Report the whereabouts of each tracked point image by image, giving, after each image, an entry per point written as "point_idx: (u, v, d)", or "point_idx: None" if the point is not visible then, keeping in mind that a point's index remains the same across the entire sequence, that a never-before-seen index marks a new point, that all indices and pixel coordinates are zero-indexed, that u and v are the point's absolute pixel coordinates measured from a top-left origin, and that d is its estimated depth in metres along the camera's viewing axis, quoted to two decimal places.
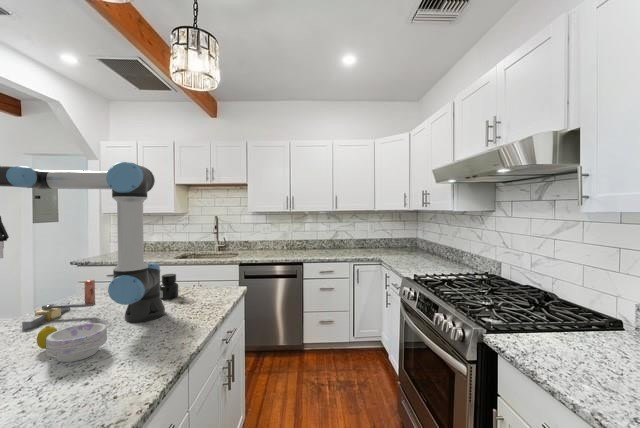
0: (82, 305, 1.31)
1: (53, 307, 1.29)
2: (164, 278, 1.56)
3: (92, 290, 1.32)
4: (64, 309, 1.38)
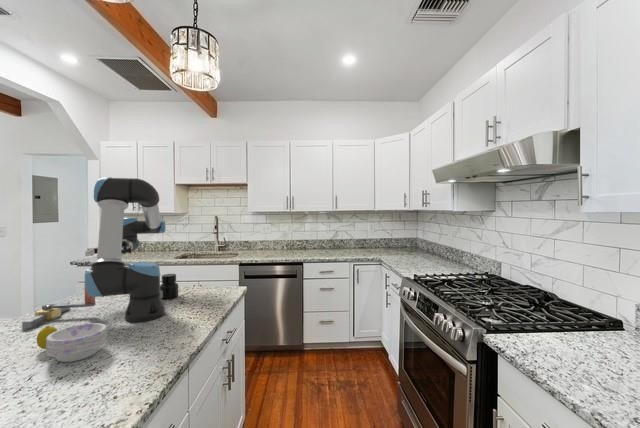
0: (82, 305, 1.31)
1: (53, 307, 1.29)
2: (164, 278, 1.56)
3: None
4: (64, 309, 1.38)
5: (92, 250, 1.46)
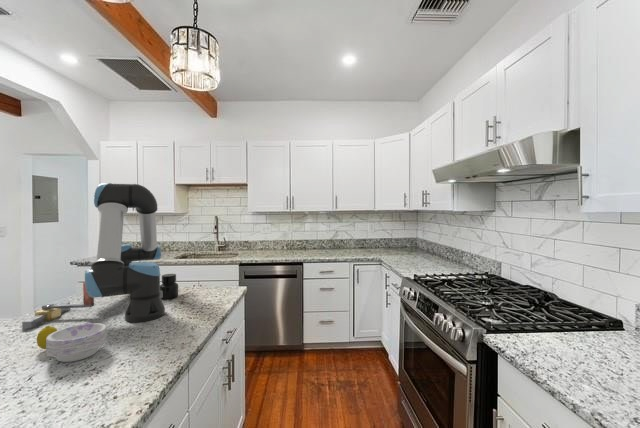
0: (81, 306, 1.30)
1: (53, 307, 1.29)
2: (164, 278, 1.56)
3: None
4: (64, 309, 1.38)
5: None
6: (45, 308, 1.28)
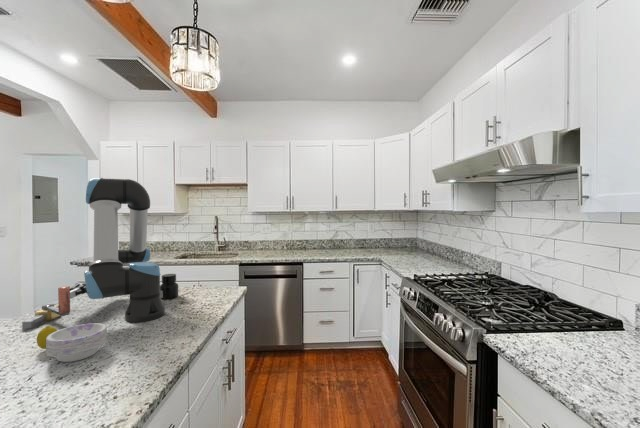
0: (58, 312, 1.22)
1: (47, 308, 1.27)
2: (164, 278, 1.56)
3: (63, 298, 1.20)
4: None
5: None
6: (42, 308, 1.28)
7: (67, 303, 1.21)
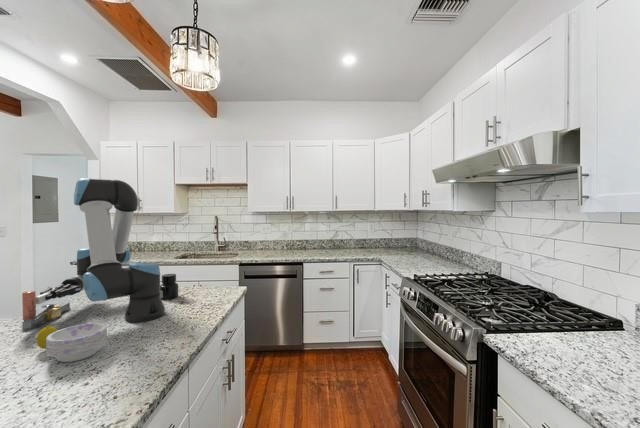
0: None
1: None
2: (164, 278, 1.56)
3: (23, 304, 1.13)
4: (64, 309, 1.38)
5: None
6: None
7: (28, 309, 1.13)
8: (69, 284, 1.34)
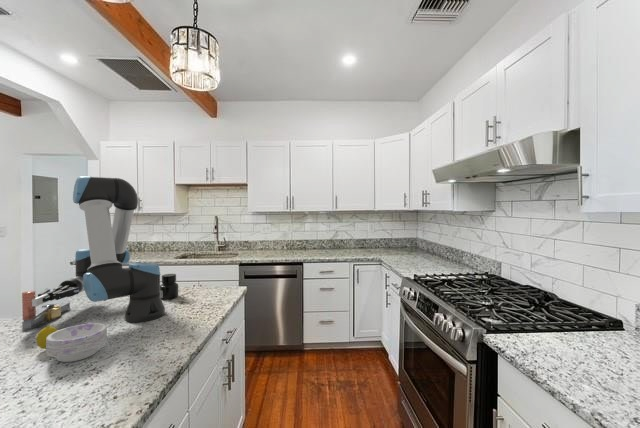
0: None
1: None
2: (164, 278, 1.56)
3: (23, 304, 1.13)
4: (64, 309, 1.38)
5: None
6: None
7: (28, 310, 1.13)
8: (67, 286, 1.31)
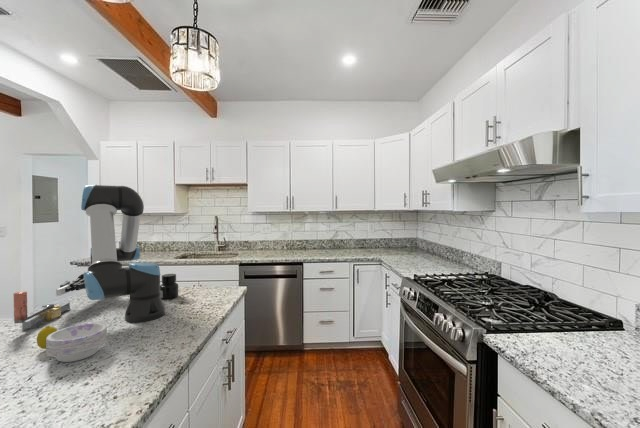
0: None
1: None
2: (164, 278, 1.56)
3: (14, 305, 1.12)
4: (64, 309, 1.38)
5: None
6: None
7: (18, 310, 1.12)
8: None
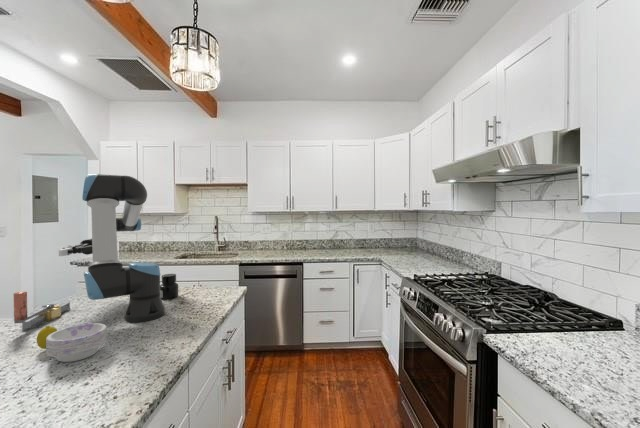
0: None
1: None
2: (164, 278, 1.56)
3: (14, 305, 1.12)
4: (64, 309, 1.38)
5: None
6: None
7: (18, 310, 1.12)
8: (87, 243, 1.46)
